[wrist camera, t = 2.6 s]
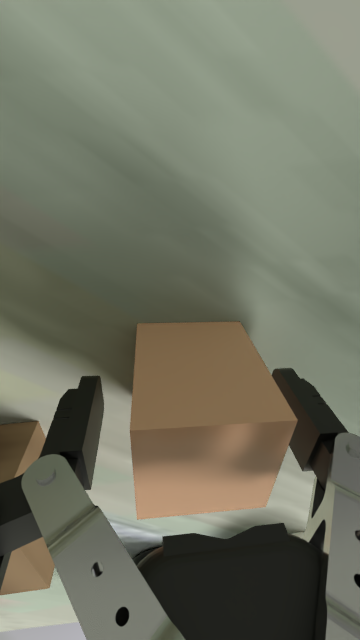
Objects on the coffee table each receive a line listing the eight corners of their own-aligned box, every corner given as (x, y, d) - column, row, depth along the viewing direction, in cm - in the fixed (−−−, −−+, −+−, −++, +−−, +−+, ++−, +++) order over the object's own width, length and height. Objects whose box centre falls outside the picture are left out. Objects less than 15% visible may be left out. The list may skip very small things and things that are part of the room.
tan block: (239, 321, 13) (297, 420, 8) (226, 395, 16) (265, 506, 11) (137, 322, 13) (130, 430, 8) (140, 399, 15) (137, 519, 10)
